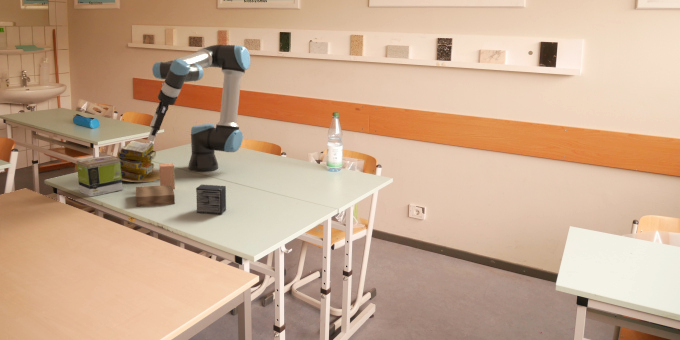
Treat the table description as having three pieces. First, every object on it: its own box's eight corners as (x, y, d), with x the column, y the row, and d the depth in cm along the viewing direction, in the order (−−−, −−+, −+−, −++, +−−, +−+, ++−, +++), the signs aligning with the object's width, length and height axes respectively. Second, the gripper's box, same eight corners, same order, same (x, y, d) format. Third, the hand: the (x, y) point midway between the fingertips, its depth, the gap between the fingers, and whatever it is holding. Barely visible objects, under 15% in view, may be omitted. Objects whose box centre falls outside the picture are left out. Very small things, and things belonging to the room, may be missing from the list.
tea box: (111, 185, 247) (109, 154, 243) (123, 190, 241) (121, 158, 237) (78, 192, 236) (76, 159, 232) (89, 197, 229) (87, 163, 226)
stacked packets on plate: (171, 173, 271) (170, 141, 267) (141, 186, 248) (139, 150, 244) (129, 168, 278) (127, 136, 274) (96, 180, 254) (93, 145, 250)
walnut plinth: (172, 193, 239) (172, 184, 238) (174, 203, 226) (174, 194, 225) (136, 195, 234) (135, 186, 233) (136, 206, 221) (136, 197, 220)
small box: (226, 209, 222) (226, 185, 219) (221, 215, 215) (221, 189, 213) (201, 207, 222) (201, 183, 220) (196, 213, 216) (195, 188, 214)
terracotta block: (174, 186, 250) (173, 163, 248) (174, 189, 246) (173, 165, 243) (160, 187, 248) (159, 163, 245) (160, 190, 244) (159, 166, 241)
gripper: (162, 79, 242) (145, 118, 250) (158, 101, 222) (140, 143, 229) (178, 86, 246) (161, 124, 253) (176, 108, 225) (157, 149, 232)
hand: (151, 133), depth 241 cm, fingers open, 13 cm apart
